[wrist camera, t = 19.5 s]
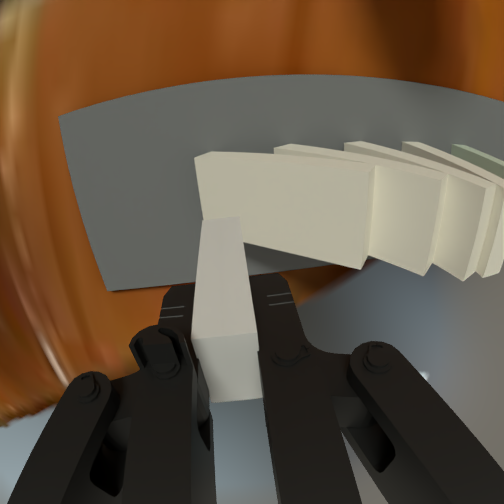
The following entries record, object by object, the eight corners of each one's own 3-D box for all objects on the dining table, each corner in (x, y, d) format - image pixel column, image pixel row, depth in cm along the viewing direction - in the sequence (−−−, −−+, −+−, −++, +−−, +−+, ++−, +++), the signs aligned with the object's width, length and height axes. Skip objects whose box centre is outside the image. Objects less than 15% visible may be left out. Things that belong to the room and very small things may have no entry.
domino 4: (464, 145, 19) (558, 189, 11) (457, 201, 22) (538, 260, 13) (451, 144, 19) (547, 189, 11) (445, 202, 22) (527, 264, 13)
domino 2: (278, 222, 20) (423, 276, 14) (273, 147, 18) (441, 180, 11) (293, 215, 21) (432, 262, 15) (290, 143, 19) (448, 173, 12)
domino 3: (342, 213, 21) (463, 281, 13) (344, 142, 18) (485, 188, 10) (358, 208, 21) (475, 271, 13) (361, 140, 19) (496, 183, 11)
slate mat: (109, 286, 23) (107, 291, 23) (62, 115, 16) (58, 116, 16) (515, 232, 25) (518, 234, 25) (533, 112, 18) (537, 113, 18)
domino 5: (397, 205, 22) (482, 277, 13) (402, 141, 19) (505, 188, 10) (413, 204, 22) (499, 272, 13) (418, 141, 19) (521, 188, 10)
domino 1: (205, 233, 20) (360, 269, 15) (193, 157, 17) (368, 172, 12) (220, 223, 21) (368, 254, 16) (211, 151, 18) (375, 164, 13)
